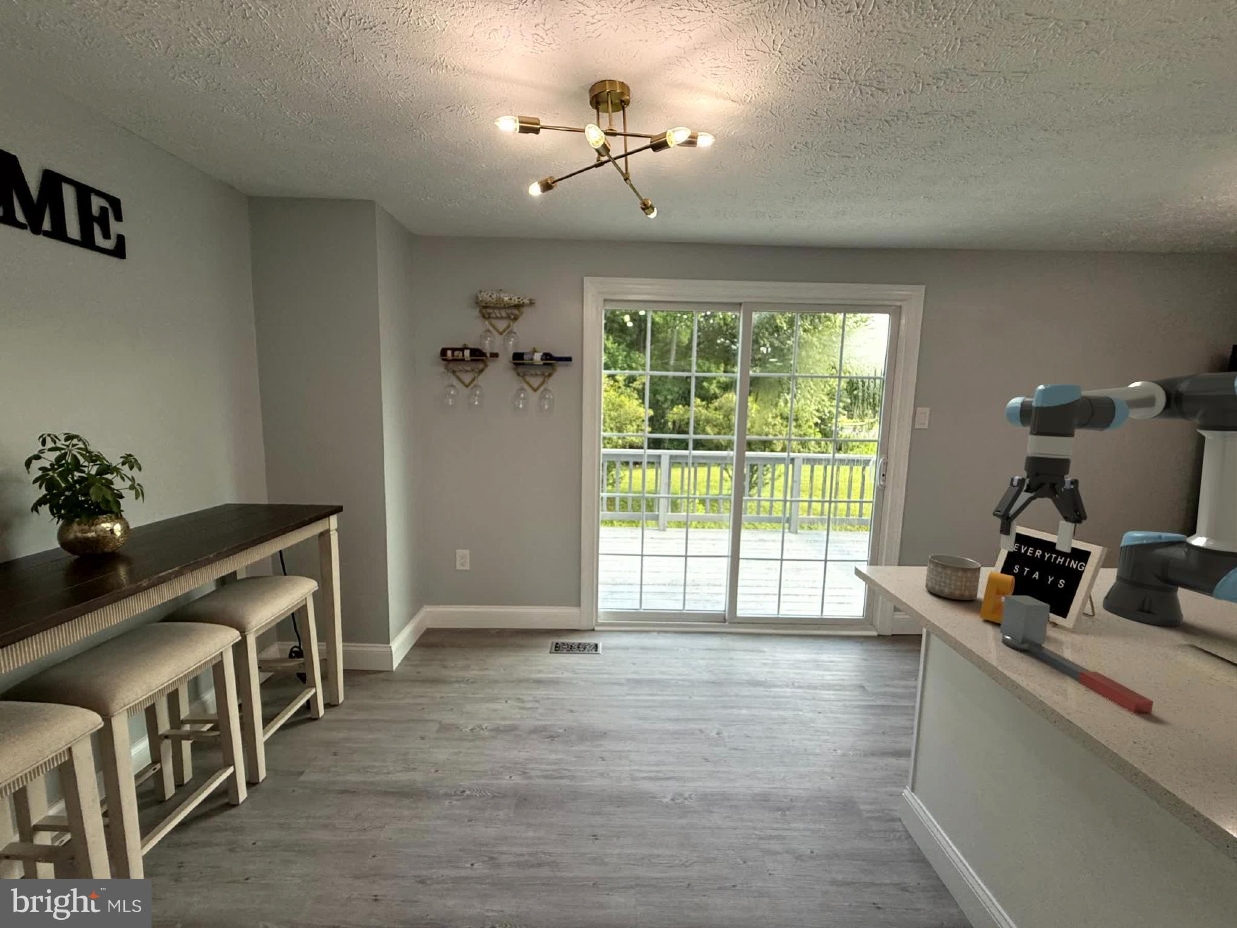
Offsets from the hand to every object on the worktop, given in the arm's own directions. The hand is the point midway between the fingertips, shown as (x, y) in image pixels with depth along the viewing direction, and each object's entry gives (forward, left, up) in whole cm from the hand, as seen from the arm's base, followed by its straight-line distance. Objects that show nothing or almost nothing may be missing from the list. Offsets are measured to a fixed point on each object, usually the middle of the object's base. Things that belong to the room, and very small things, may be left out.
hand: (1034, 550), depth 111 cm
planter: (-7, -31, -23) cm, 39 cm away
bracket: (-8, -14, -23) cm, 28 cm away
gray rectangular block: (0, 0, -21) cm, 21 cm away
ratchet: (0, +11, -23) cm, 25 cm away
